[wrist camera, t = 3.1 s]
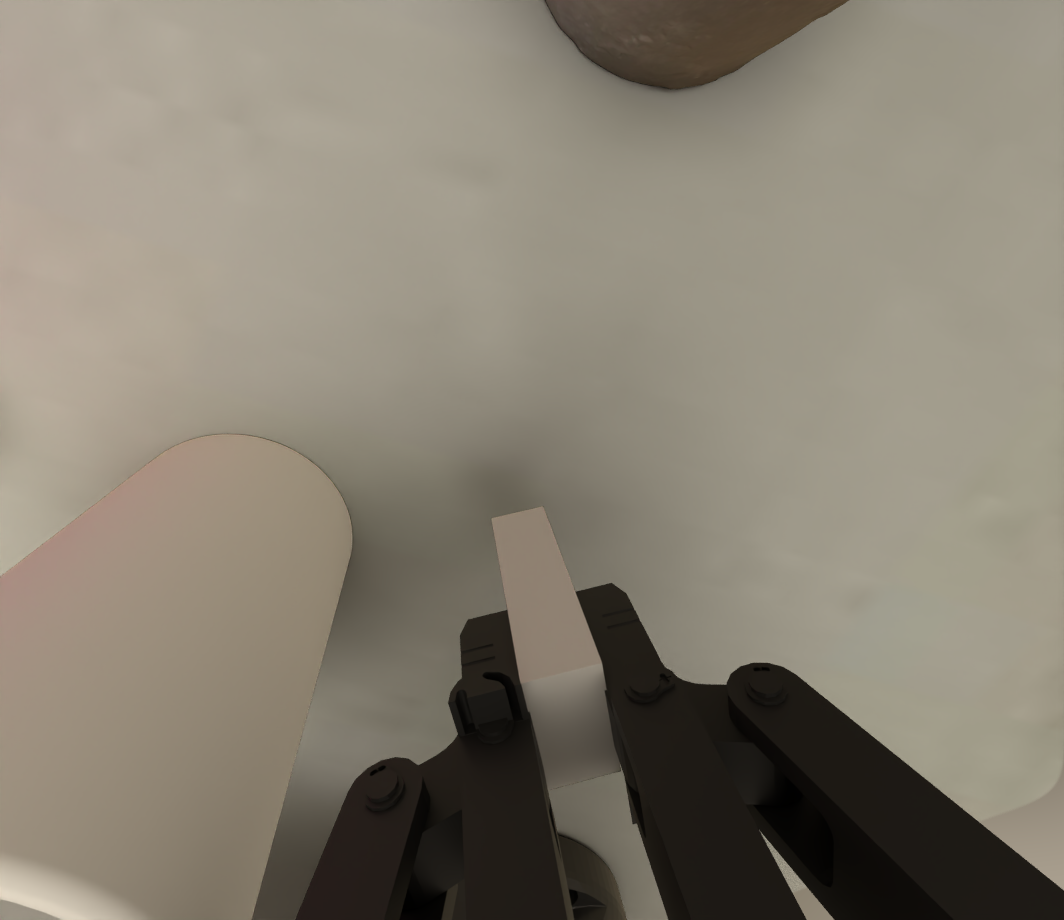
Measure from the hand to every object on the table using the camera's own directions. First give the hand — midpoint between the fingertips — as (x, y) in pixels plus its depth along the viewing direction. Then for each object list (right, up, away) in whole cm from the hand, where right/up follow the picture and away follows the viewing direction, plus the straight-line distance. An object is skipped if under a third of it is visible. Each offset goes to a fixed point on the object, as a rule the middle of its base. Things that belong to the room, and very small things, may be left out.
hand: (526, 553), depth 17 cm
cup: (-11, 0, +6) cm, 13 cm away
